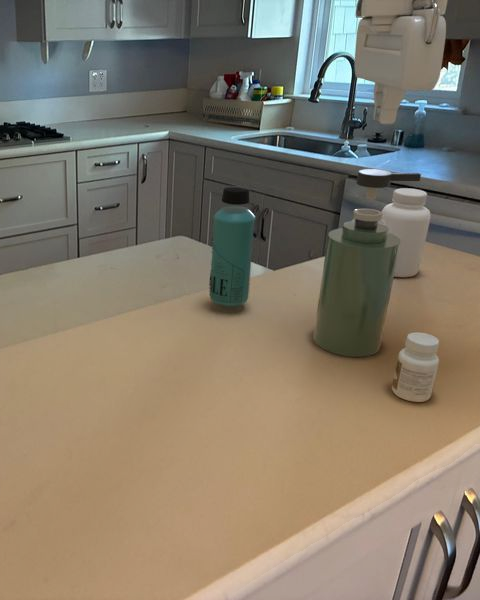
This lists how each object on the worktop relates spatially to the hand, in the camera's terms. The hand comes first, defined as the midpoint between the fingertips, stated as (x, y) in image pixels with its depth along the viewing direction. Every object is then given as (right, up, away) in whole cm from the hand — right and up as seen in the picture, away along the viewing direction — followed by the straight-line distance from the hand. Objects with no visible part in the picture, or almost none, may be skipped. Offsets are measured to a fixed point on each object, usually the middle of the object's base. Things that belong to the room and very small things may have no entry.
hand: (383, 122), depth 77 cm
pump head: (+2, -9, +4) cm, 10 cm away
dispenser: (+1, -28, +13) cm, 31 cm away
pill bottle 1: (+21, -17, +38) cm, 46 cm away
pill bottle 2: (+3, -34, 0) cm, 34 cm away
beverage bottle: (-14, -24, +25) cm, 37 cm away
